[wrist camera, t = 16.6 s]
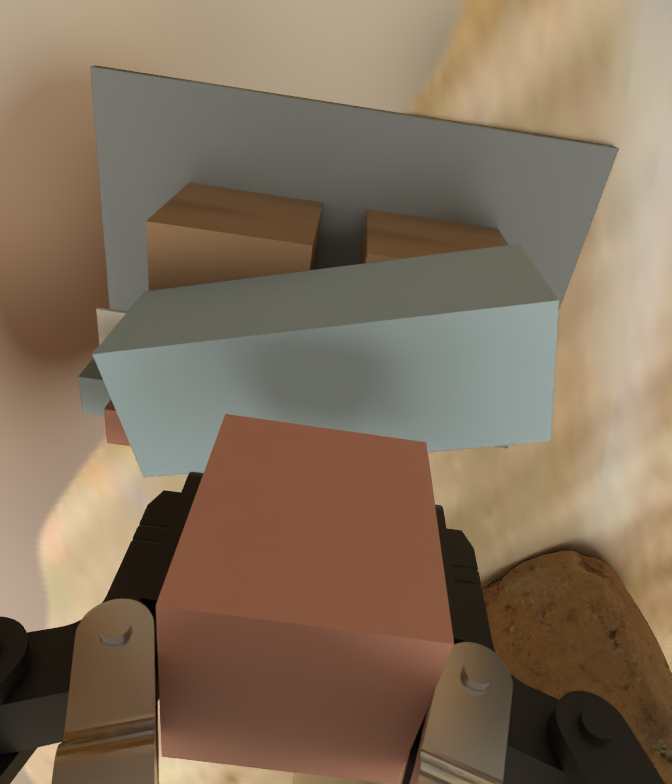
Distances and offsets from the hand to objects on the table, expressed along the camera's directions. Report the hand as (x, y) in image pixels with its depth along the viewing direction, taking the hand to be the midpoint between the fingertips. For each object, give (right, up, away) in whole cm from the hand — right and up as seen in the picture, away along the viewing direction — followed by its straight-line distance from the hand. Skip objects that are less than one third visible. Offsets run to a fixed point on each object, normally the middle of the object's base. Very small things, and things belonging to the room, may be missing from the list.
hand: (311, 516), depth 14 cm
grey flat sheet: (0, +8, +15) cm, 17 cm away
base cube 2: (-3, +9, +14) cm, 17 cm away
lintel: (+1, +5, +9) cm, 11 cm away
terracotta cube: (0, 0, 0) cm, 0 cm away
